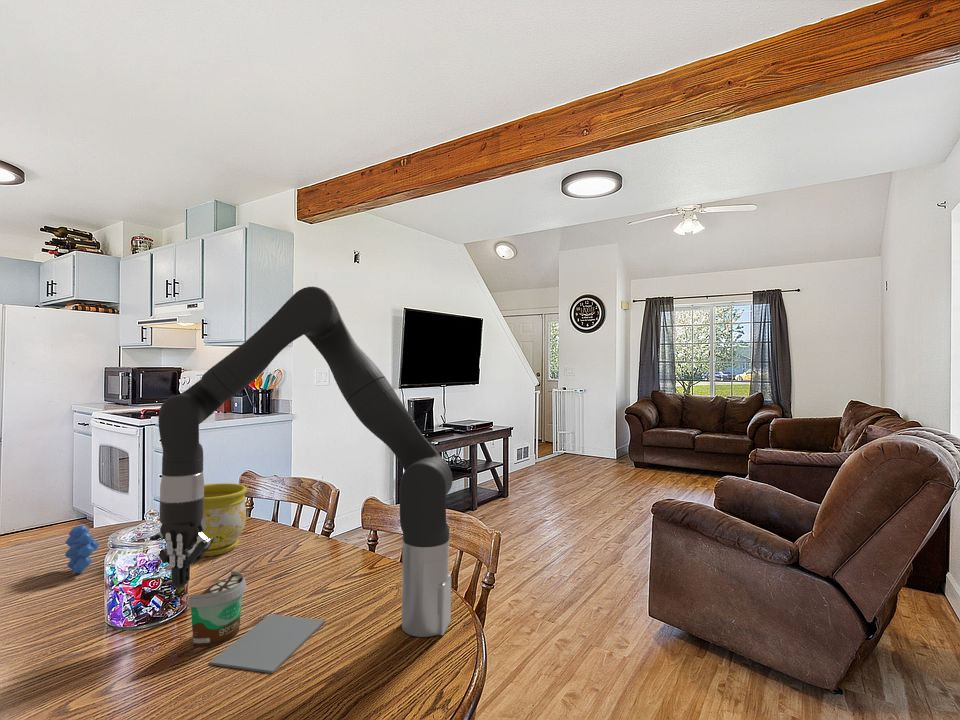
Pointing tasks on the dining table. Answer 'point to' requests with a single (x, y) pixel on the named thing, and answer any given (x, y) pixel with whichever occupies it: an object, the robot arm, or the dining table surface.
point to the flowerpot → (223, 516)
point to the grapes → (80, 548)
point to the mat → (268, 643)
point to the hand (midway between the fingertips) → (180, 584)
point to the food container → (217, 611)
